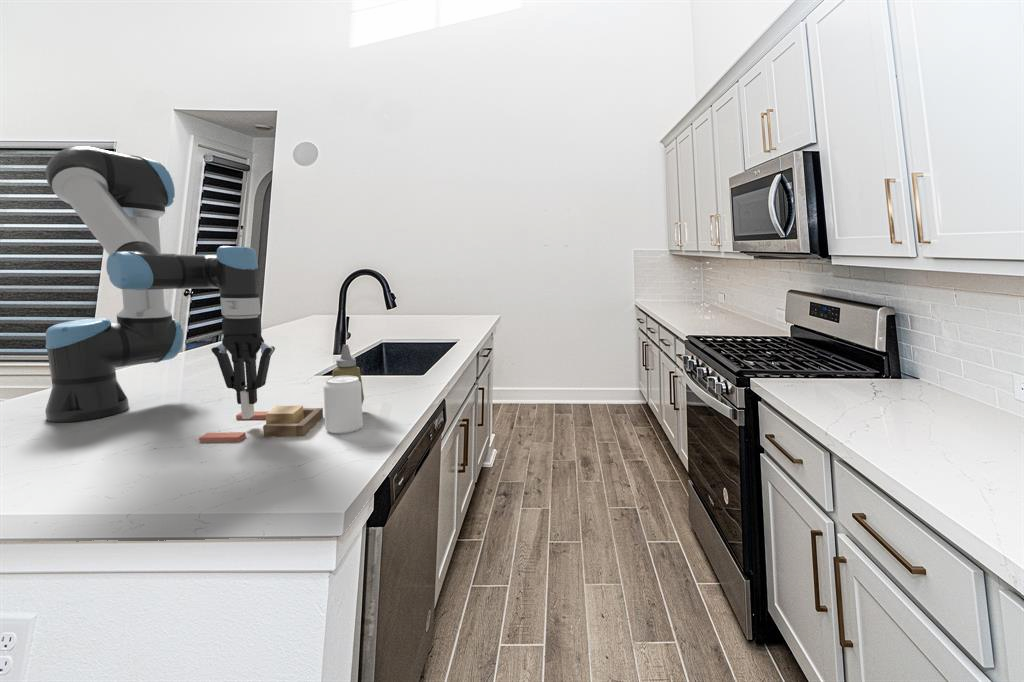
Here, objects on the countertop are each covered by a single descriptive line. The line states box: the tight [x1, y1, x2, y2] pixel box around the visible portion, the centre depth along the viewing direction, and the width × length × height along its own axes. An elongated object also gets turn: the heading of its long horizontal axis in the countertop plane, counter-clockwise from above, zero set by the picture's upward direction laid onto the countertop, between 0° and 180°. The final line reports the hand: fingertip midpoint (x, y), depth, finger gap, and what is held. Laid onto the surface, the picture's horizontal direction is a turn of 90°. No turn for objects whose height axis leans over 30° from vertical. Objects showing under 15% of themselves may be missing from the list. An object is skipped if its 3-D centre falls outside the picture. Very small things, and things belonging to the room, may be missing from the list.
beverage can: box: [323, 376, 363, 435], centre depth 103 cm, size 8×8×12 cm
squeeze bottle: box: [331, 344, 365, 405], centre depth 114 cm, size 8×8×18 cm
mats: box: [198, 410, 270, 443], centre depth 104 cm, size 8×18×1 cm, turn 5°
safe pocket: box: [262, 407, 324, 438], centre depth 105 cm, size 8×13×2 cm, turn 5°
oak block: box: [265, 405, 304, 424], centre depth 104 cm, size 6×6×4 cm
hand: (248, 417), depth 104 cm, fingers closed
